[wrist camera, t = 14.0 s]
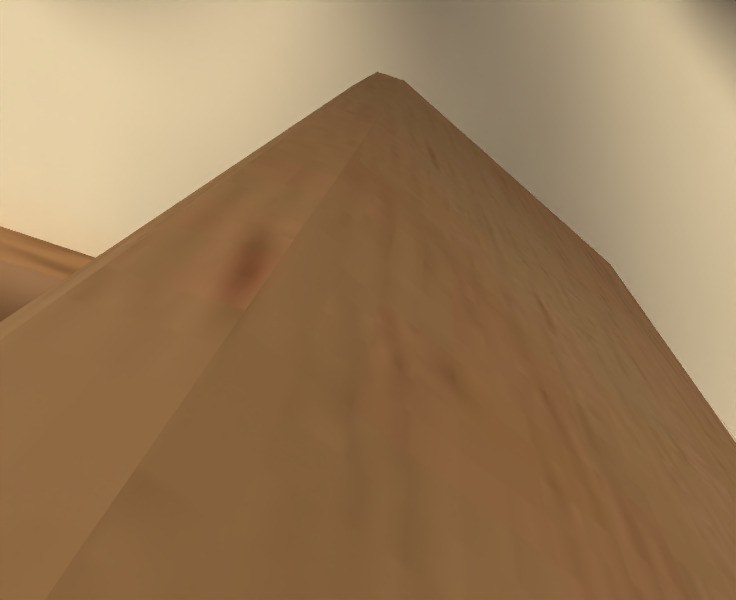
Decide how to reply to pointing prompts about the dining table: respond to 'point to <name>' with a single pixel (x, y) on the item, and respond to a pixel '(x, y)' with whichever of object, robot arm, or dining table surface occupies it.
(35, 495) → the block
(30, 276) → the wooden book-shaped slab
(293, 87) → the dining table surface
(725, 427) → the robot arm
